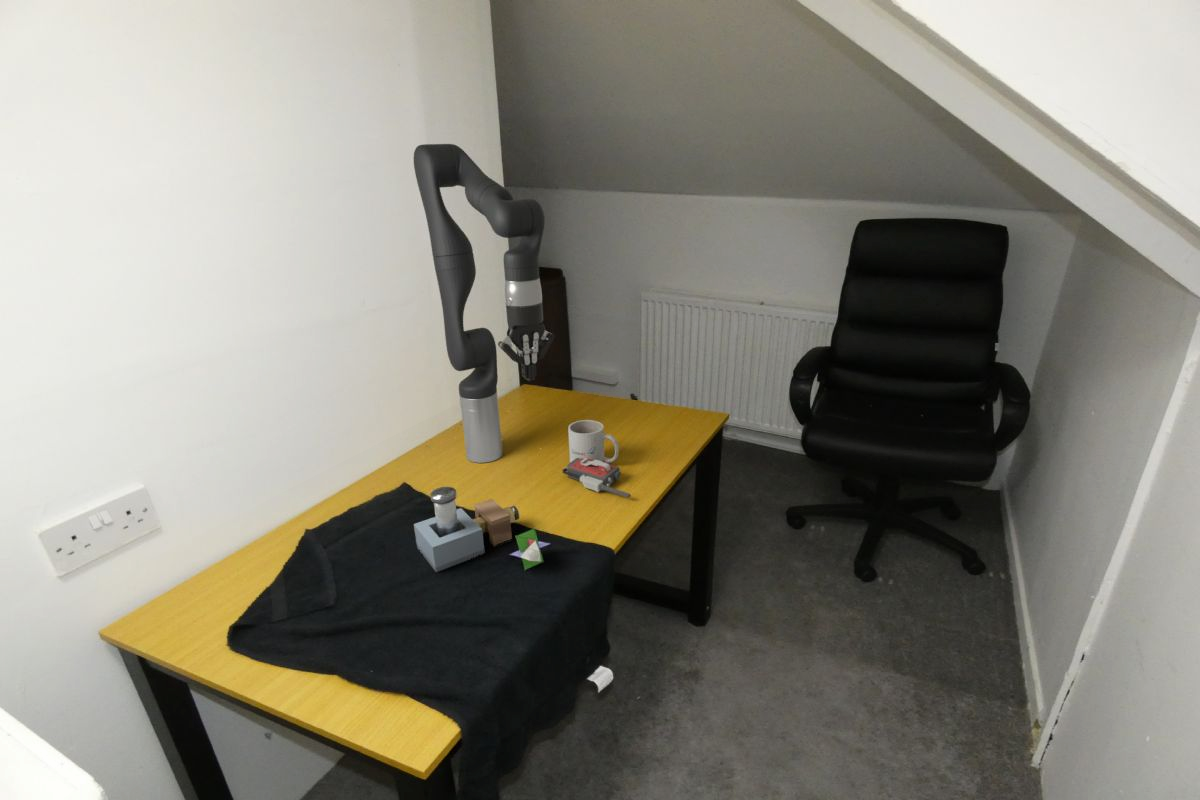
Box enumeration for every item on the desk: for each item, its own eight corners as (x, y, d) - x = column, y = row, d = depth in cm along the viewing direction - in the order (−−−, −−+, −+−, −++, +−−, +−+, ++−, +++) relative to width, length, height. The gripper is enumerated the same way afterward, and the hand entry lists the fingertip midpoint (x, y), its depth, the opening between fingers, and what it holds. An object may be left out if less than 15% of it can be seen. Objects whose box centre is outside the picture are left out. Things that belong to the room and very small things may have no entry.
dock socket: (417, 547, 131) (413, 524, 129) (463, 531, 136) (461, 508, 134) (436, 572, 123) (432, 547, 121) (484, 553, 128) (482, 529, 126)
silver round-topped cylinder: (434, 545, 130) (426, 491, 126) (456, 536, 132) (450, 484, 128) (443, 556, 126) (436, 501, 122) (466, 547, 129) (460, 494, 124)
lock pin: (460, 534, 132) (459, 521, 131) (513, 515, 138) (511, 503, 137) (466, 541, 129) (465, 528, 128) (519, 522, 136) (518, 509, 135)
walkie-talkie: (556, 480, 155) (627, 503, 145) (555, 463, 154) (627, 486, 143) (578, 464, 162) (648, 485, 151) (577, 448, 160) (648, 468, 149)
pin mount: (477, 529, 137) (474, 504, 135) (494, 522, 139) (491, 498, 137) (494, 546, 131) (491, 521, 128) (511, 539, 133) (509, 515, 130)
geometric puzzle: (500, 548, 126) (510, 530, 120) (530, 535, 130) (541, 517, 124) (517, 580, 124) (528, 564, 118) (548, 566, 127) (560, 550, 122)
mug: (563, 467, 162) (561, 430, 158) (581, 453, 169) (579, 417, 165) (607, 477, 156) (606, 439, 152) (623, 462, 163) (623, 426, 159)
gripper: (542, 292, 142) (547, 368, 148) (486, 302, 135) (494, 381, 141) (560, 298, 136) (564, 377, 142) (503, 308, 129) (510, 391, 136)
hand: (529, 379), depth 142 cm, fingers closed
